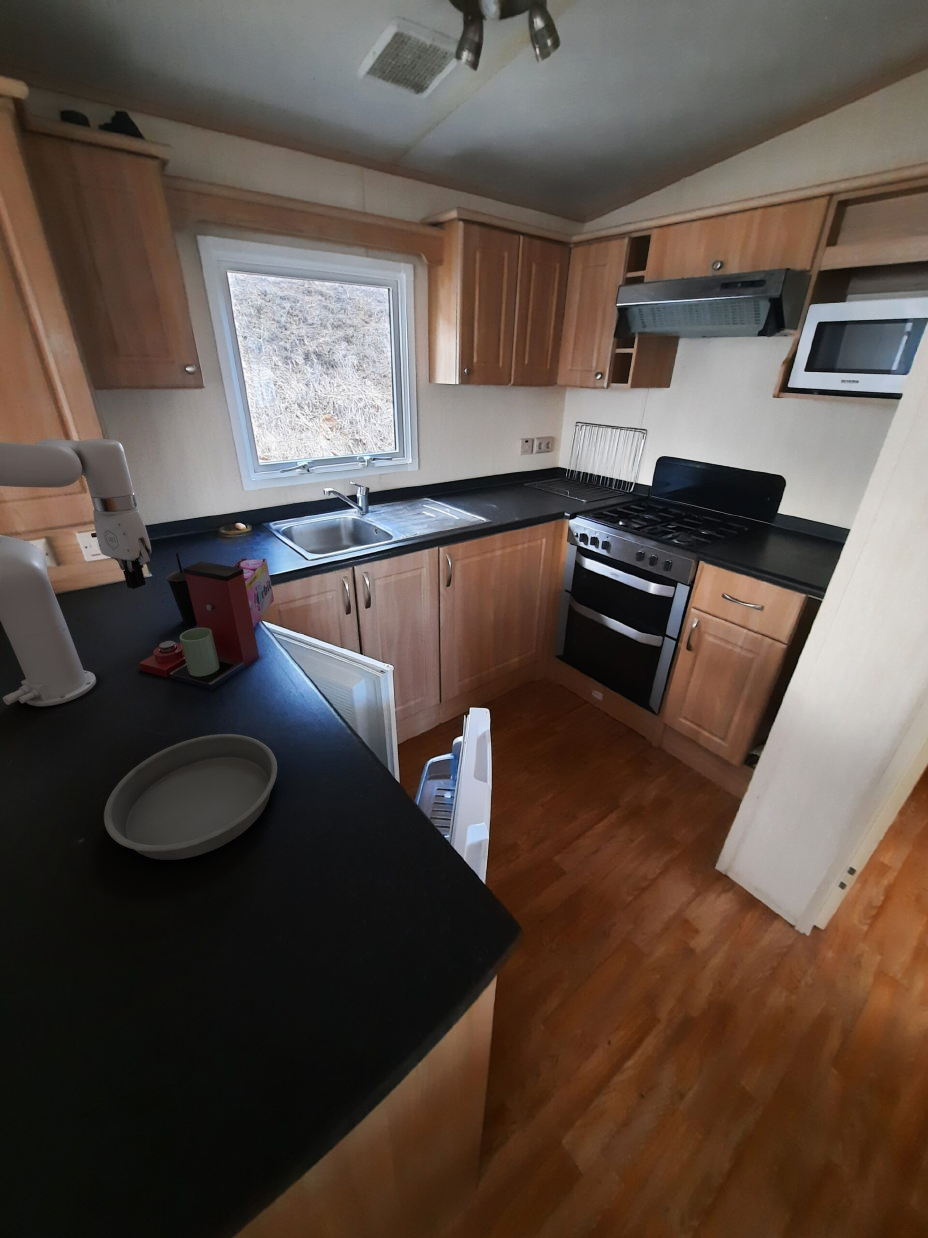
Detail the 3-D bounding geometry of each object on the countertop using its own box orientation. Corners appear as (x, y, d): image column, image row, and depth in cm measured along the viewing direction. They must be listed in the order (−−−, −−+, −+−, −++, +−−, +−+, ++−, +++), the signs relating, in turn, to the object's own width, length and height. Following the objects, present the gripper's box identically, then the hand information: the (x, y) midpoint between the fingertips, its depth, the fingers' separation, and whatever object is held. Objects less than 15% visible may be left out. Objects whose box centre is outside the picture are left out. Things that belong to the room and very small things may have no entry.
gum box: (250, 598, 155) (242, 556, 149) (276, 598, 155) (269, 556, 149) (218, 635, 133) (208, 588, 127) (249, 635, 134) (240, 588, 128)
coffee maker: (212, 690, 111) (189, 593, 101) (170, 678, 115) (143, 584, 105) (260, 657, 124) (243, 568, 114) (220, 648, 128) (200, 561, 117)
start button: (168, 655, 117) (166, 648, 116) (157, 652, 118) (155, 645, 117) (179, 648, 120) (177, 642, 119) (169, 646, 121) (167, 639, 120)
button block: (167, 677, 115) (163, 662, 113) (141, 670, 118) (136, 656, 116) (201, 657, 124) (198, 642, 122) (176, 651, 126) (173, 636, 124)
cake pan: (168, 750, 94) (162, 731, 92) (300, 755, 93) (297, 735, 91) (72, 868, 72) (61, 845, 70) (244, 875, 71) (238, 852, 69)
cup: (204, 678, 112) (195, 643, 108) (182, 673, 114) (172, 637, 110) (225, 664, 117) (218, 630, 113) (204, 659, 119) (196, 625, 115)
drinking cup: (196, 629, 136) (179, 558, 128) (171, 626, 138) (153, 556, 129) (214, 617, 143) (199, 549, 134) (190, 614, 145) (174, 547, 136)
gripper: (71, 502, 103) (96, 586, 111) (124, 511, 98) (146, 598, 106) (106, 495, 109) (128, 575, 117) (158, 503, 105) (176, 586, 113)
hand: (136, 586), depth 112 cm, fingers closed
